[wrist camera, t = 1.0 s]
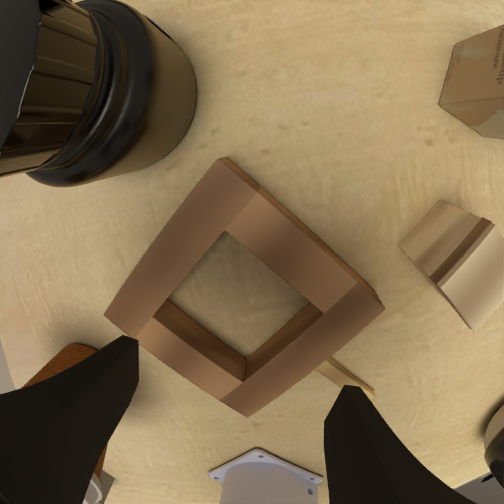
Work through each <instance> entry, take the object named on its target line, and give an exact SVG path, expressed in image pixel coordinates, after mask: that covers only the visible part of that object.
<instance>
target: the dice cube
mask: <svg viewBox="0 0 504 504" xmlns="http://www.w3.org/2000/svg"><path fill="white" fill-rule="evenodd" d="M114 479H115V478H113V477H112V476H110V475H109V474H107V473H106V472H104V471H103V470H102V472H101V477H100V483H101V490H102V499H101V500H100V501H98V502H96V503H94V504H104V502H105V500H106V497H107V495H108V493H109V490H110V488H111V486H112V483H113V481H114Z"/></svg>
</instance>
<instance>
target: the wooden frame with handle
mask: <svg viewBox="0 0 504 504" xmlns="http://www.w3.org/2000/svg"><path fill="white" fill-rule="evenodd" d="M224 230H225V231H226V232H228V233H229V234H230V235H231V236H232V237H234V238H235V239H236V240H237V241H238V242H239V243H241V244H242V245H243V246H244V247H245V248H247V249H248V250H249V251H250V252H251V253H253V254H254V255H255V256H256V257H257V258H259V259H260V260H261V261H262V262H263V263H265V264H266V265H267V266H268V267H269V268H271V269H272V270H273V271H274V272H275V273H277V274H278V275H279V276H280V277H281V278H282V279H284V280H285V281H286V282H287V283H288V284H290V285H291V286H292V287H293V288H294V289H296V290H297V291H298V292H299V293H300V294H302V295H303V296H304V297H305V298H306V299H308V300H309V301H310V303H309V304H308V305H307V306H305V307H304V308H303V309H302V310H301V311H300V312H299V313H298V314H297V315H296V316H295V317H294V318H292V319H291V320H290V321H289V322H288V323H287V324H286V325H285V326H284V327H282V328H281V329H280V330H279V331H278V332H277V333H276V334H275V335H274V336H272V337H271V338H270V339H269V340H268V341H267V342H266V343H264V344H263V345H262V346H261V347H260V348H259V349H258V350H256V351H255V352H254V353H253V354H252V355H251V356H249V357H248V358H247V359H246V358H244V357H243V356H242V355H240V354H239V353H237V352H236V351H235V350H233V349H232V348H230V347H229V346H228V345H226V344H225V343H224V342H222V341H221V340H219V339H218V338H217V337H215V336H214V335H213V334H211V333H210V332H209V331H207V330H206V329H205V328H203V327H202V326H201V325H199V324H198V323H197V322H196V321H194V320H193V319H192V318H190V317H189V316H188V315H186V314H185V313H184V312H183V311H181V310H180V309H179V308H178V307H176V306H175V305H174V304H172V303H171V302H170V301H169V300H167V298H168V297H169V296H170V294H171V293H172V292H173V291H174V289H175V288H176V287H177V286H178V285H179V283H180V282H181V281H182V280H183V279H184V277H185V276H186V275H187V274H188V273H189V271H190V270H191V269H192V268H193V267H194V266H195V264H196V263H197V262H198V261H199V260H200V258H201V257H202V256H203V255H204V254H205V253H206V251H207V250H208V249H209V248H210V247H211V245H212V244H213V243H214V242H215V241H216V240H217V238H218V237H219V236H220V235H221V234H222V233H223V231H224ZM384 310H385V308H384V306H383V304H382V302H381V301H380V299H379V297H378V295H377V294H376V292H375V290H374V289H373V288H372V287H371V286H370V285H369V284H368V283H367V282H366V281H365V280H364V279H362V278H361V277H360V276H359V275H358V274H357V273H356V272H355V271H354V270H353V269H352V268H351V267H350V266H349V265H348V264H347V263H346V262H345V261H344V260H343V259H341V258H340V257H339V256H338V255H337V254H336V253H335V252H334V251H333V250H332V249H331V248H330V247H329V246H327V245H326V244H325V243H324V242H323V241H322V240H321V239H320V238H319V237H318V236H317V235H316V234H314V233H313V232H312V231H311V230H310V229H309V228H308V227H307V226H306V225H304V224H303V223H302V222H301V221H300V220H299V219H298V218H297V217H296V216H294V215H293V214H292V213H291V212H290V211H289V210H288V209H287V208H285V207H284V206H283V205H282V204H281V203H280V202H279V201H277V200H276V199H275V198H274V197H273V196H272V195H271V194H269V193H268V192H267V191H266V190H265V189H264V188H262V187H261V186H260V185H259V184H258V183H257V182H255V181H254V180H253V179H252V178H251V177H250V176H248V175H247V174H246V173H245V172H244V171H242V170H241V169H240V168H239V167H238V166H237V165H235V164H234V163H233V162H232V161H231V160H229V159H228V158H227V157H224V158H220V159H217V160H216V162H215V163H214V164H213V165H212V166H211V168H210V169H209V170H208V171H207V173H206V174H205V175H204V176H203V178H202V179H201V180H200V181H199V183H198V184H197V185H196V186H195V188H194V189H193V190H192V191H191V193H190V194H189V195H188V196H187V198H186V199H185V200H184V202H183V203H182V204H181V205H180V207H179V208H178V209H177V211H176V212H175V213H174V215H173V216H172V217H171V219H170V220H169V221H168V223H167V224H166V225H165V227H164V228H163V229H162V231H161V232H160V233H159V235H158V236H157V237H156V239H155V240H154V242H153V243H152V244H151V246H150V247H149V248H148V250H147V251H146V253H145V254H144V255H143V257H142V258H141V260H140V261H139V263H138V264H137V265H136V267H135V268H134V270H133V271H132V273H131V274H130V276H129V277H128V278H127V280H126V281H125V283H124V284H123V286H122V287H121V289H120V290H119V292H118V293H117V295H116V296H115V298H114V299H113V301H112V302H111V304H110V305H109V307H108V308H107V310H106V312H105V313H104V316H105V317H106V318H107V319H109V320H110V321H111V322H112V323H113V324H115V325H116V326H117V327H118V328H119V329H121V330H122V331H123V332H124V333H126V334H127V335H128V336H129V337H131V338H134V339H137V340H139V345H141V346H142V347H143V348H145V349H146V350H147V351H149V352H150V353H151V354H153V355H154V356H155V357H157V358H158V359H159V360H161V361H162V362H163V363H165V364H166V365H168V366H169V367H170V368H172V369H173V370H175V371H176V372H177V373H179V374H180V375H182V376H183V377H185V378H186V379H187V380H189V381H190V382H192V383H193V384H195V385H196V386H198V387H199V388H201V389H202V390H204V391H205V392H207V393H208V394H210V395H212V396H213V397H215V398H216V399H218V400H219V401H221V402H223V403H224V404H226V405H227V406H229V407H231V408H232V409H234V410H236V411H237V412H239V413H241V414H242V415H244V416H246V417H247V418H248V417H249V416H251V415H252V414H254V413H255V412H257V411H258V410H259V409H261V408H262V407H264V406H265V405H267V404H268V403H270V402H271V401H272V400H274V399H275V398H277V397H278V396H280V395H281V394H282V393H284V392H285V391H286V390H288V389H289V388H291V387H292V386H293V385H295V384H296V383H297V382H299V381H300V380H301V379H303V378H304V377H305V376H307V375H308V374H309V373H310V372H312V371H313V370H314V369H316V370H317V371H318V372H320V373H321V374H323V375H324V376H326V377H327V378H328V379H330V380H331V381H333V382H334V383H336V384H337V385H338V386H340V387H341V388H343V386H344V385H352V386H360V387H361V388H362V390H363V391H364V392H365V394H366V395H367V397H368V398H369V399H370V400H372V399H373V398H375V397H376V396H375V393H374V390H373V389H372V388H370V387H369V386H368V385H366V384H365V383H363V382H362V381H361V380H359V379H358V378H357V377H355V376H354V375H353V374H351V373H350V372H349V371H347V370H346V369H345V368H343V367H342V366H341V365H339V364H338V363H337V362H335V361H334V360H333V359H331V358H330V357H331V356H332V355H333V354H334V353H336V352H337V351H338V350H339V349H340V348H342V347H343V346H344V345H345V344H346V343H348V342H349V341H350V340H351V339H352V338H353V337H355V336H356V335H357V334H358V333H359V332H360V331H362V330H363V329H364V328H365V327H366V326H367V325H368V324H369V323H371V322H372V321H373V320H374V319H375V318H376V317H377V316H378V315H379V314H380V313H382V312H383V311H384Z"/></svg>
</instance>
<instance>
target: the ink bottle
mask: <svg viewBox="0 0 504 504" xmlns="http://www.w3.org/2000/svg"><path fill="white" fill-rule="evenodd" d="M169 37H170V36H169V35H167V34H166V33H165V32H164V31H163V30H162V29H161V28H160V27H158V26H157V25H156V24H155V23H154V22H153V21H151V20H150V19H149V18H147V17H146V16H144V15H142V14H141V13H140V12H139V11H137V10H136V9H134V8H133V7H131V6H129V5H127V4H125V3H123V2H120V1H117V0H83V1H80V2H77V3H73V1H72V0H0V178H3V177H7V176H11V175H15V174H20V173H24V172H25V173H26V174H27V175H28V176H29V177H31V178H32V179H34V180H35V181H37V182H39V183H42V184H45V185H48V186H53V187H73V186H79V185H83V184H87V183H91V182H95V181H98V180H102V179H106V178H110V177H114V176H118V175H122V174H126V173H130V172H134V171H137V170H140V169H143V168H145V167H148V166H150V165H152V164H153V163H155V162H157V161H158V160H160V159H161V158H163V157H164V156H165V155H166V154H167V153H169V152H170V151H171V150H172V149H173V148H174V147H175V146H176V145H177V143H178V142H179V141H180V140H181V138H182V137H183V135H184V134H185V132H186V130H187V128H188V126H189V124H190V122H191V119H192V116H193V112H194V108H195V101H196V84H195V77H194V73H193V70H192V67H191V64H190V62H189V60H188V58H187V56H186V55H185V53H184V52H183V51H182V49H181V48H180V47H179V46H178V45H177V44H176V43H175V42H174V41H173V39H172V38H171V37H170V38H171V39H170V38H169Z"/></svg>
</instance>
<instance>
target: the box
mask: <svg viewBox="0 0 504 504" xmlns="http://www.w3.org/2000/svg"><path fill="white" fill-rule="evenodd" d="M439 105H440V106H441V107H442V108H444V109H445V110H447V111H448V112H449V113H451V114H452V115H454V116H455V117H456V118H458V119H459V120H461V121H462V122H464V123H465V124H466V125H468V126H469V127H471V128H472V129H473V130H475V131H476V132H478V133H479V134H481V135H482V136H483V137H486V138H497V139H504V25H501V26H499V27H496V28H493V29H491V30H488V31H486V32H483V33H481V34H478V35H476V36H473V37H471V38H469V39H466V40H464V41H462V42H459V43H457V44H456V45H455V48H454V51H453V55H452V59H451V62H450V66H449V70H448V73H447V77H446V80H445V84H444V87H443V91H442V94H441V97H440V101H439Z"/></svg>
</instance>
